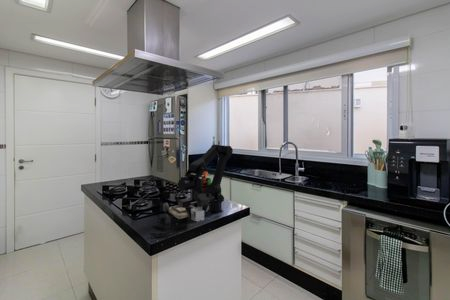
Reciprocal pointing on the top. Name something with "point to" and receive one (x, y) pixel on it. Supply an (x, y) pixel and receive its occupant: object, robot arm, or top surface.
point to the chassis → (177, 210)
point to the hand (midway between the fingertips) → (197, 217)
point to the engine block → (197, 214)
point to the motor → (205, 182)
